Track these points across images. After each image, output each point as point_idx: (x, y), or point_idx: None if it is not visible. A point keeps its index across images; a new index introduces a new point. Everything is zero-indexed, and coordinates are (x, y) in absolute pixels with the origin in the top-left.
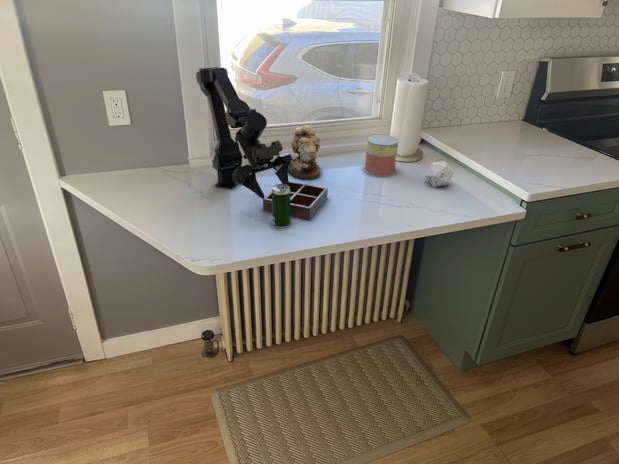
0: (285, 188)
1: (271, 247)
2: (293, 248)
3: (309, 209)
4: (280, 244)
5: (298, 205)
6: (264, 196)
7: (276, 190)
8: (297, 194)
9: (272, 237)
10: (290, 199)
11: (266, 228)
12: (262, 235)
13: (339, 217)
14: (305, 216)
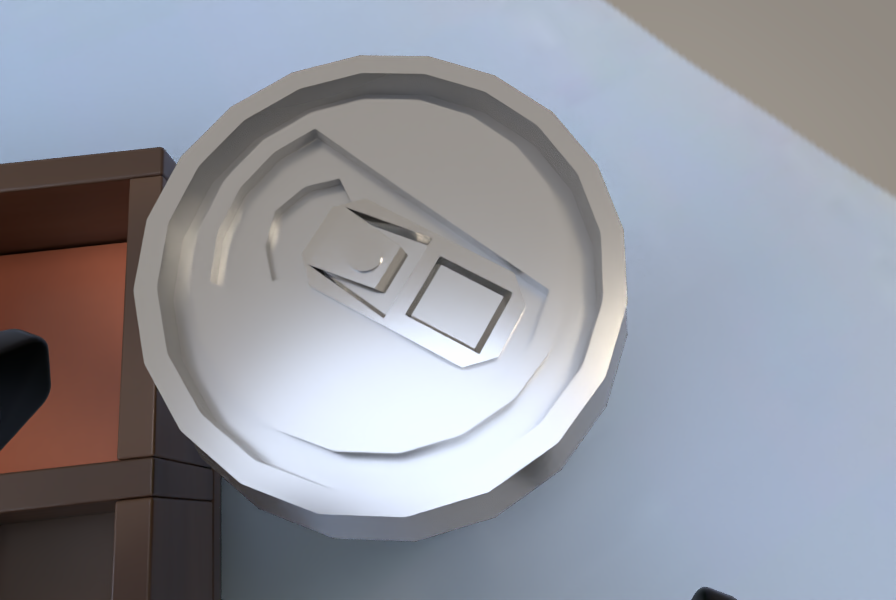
0: (368, 140)
1: (859, 279)
2: (743, 115)
3: (168, 161)
4: (762, 237)
5: None
6: (714, 593)
7: (608, 268)
8: None
9: (705, 367)
10: (1, 488)
11: (588, 527)
12: (737, 481)
13: (54, 32)
14: None
